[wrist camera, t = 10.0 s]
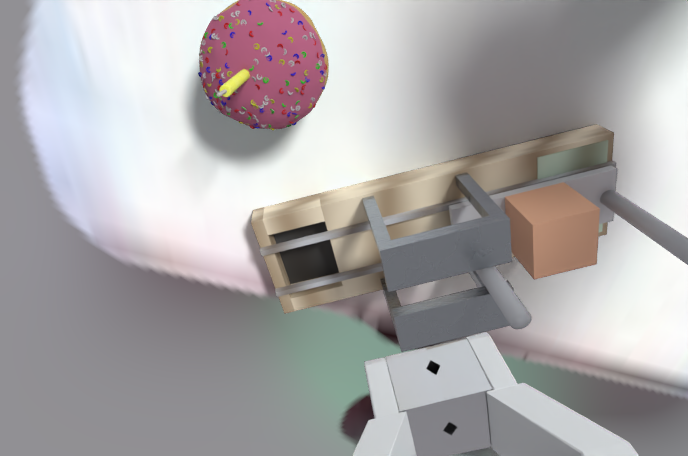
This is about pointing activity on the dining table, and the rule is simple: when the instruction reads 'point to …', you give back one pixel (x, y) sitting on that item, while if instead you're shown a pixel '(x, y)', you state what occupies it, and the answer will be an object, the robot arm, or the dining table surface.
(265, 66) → the cupcake
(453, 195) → the board
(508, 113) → the dining table surface
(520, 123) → the dining table surface
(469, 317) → the tunnel
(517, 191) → the sled
